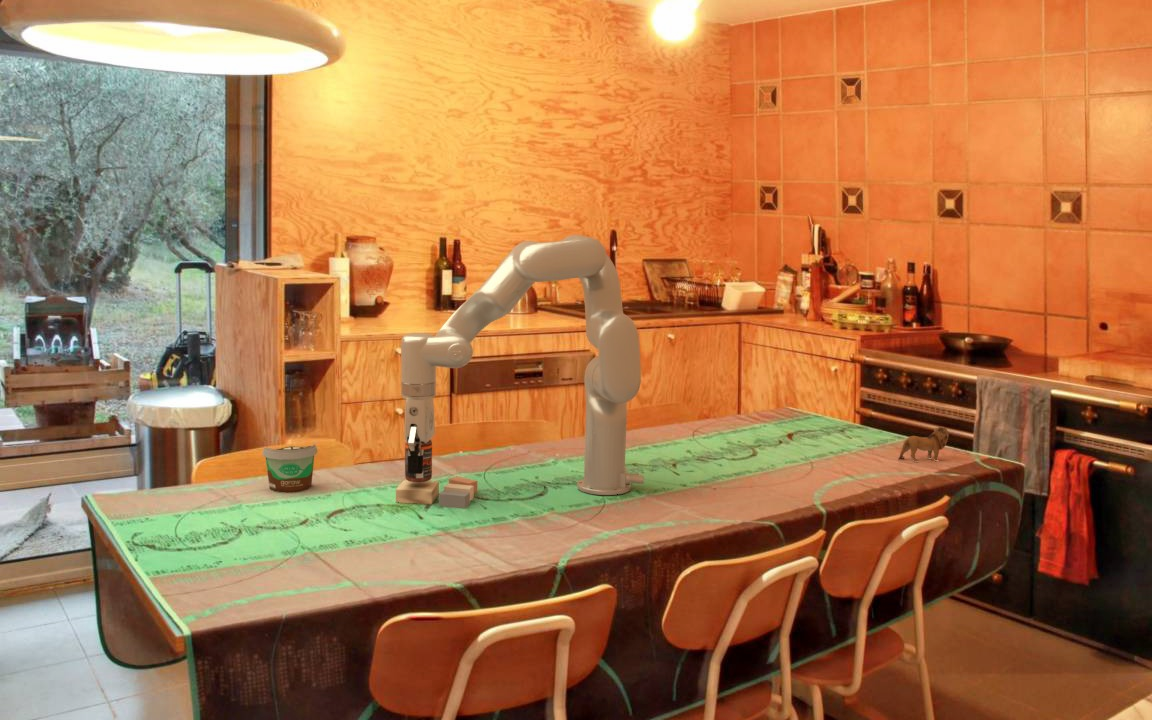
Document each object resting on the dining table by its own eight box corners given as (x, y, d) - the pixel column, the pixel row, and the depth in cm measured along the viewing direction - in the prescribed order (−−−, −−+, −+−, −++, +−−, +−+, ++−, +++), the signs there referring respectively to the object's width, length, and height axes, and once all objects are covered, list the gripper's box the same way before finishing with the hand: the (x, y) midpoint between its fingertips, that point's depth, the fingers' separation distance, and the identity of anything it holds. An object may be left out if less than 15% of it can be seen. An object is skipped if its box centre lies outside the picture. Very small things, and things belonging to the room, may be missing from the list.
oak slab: (438, 494, 240) (438, 481, 239) (431, 504, 232) (431, 491, 232) (404, 492, 240) (404, 479, 240) (395, 502, 233) (395, 489, 232)
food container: (268, 496, 235) (267, 452, 233) (262, 489, 240) (262, 446, 238) (323, 490, 240) (323, 447, 239) (317, 483, 246) (316, 441, 244)
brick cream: (473, 498, 238) (473, 485, 237) (469, 502, 235) (469, 489, 235) (448, 496, 239) (448, 483, 239) (443, 499, 236) (443, 486, 236)
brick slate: (469, 505, 233) (469, 492, 232) (464, 509, 230) (465, 496, 229) (443, 503, 234) (443, 490, 233) (438, 507, 231) (438, 493, 231)
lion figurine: (939, 456, 289) (941, 424, 288) (951, 461, 284) (954, 428, 283) (892, 459, 285) (895, 426, 284) (904, 464, 280) (906, 430, 279)
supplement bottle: (426, 484, 232) (426, 433, 230) (401, 482, 233) (400, 432, 232) (435, 477, 238) (435, 428, 236) (410, 475, 239) (410, 426, 237)
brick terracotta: (477, 493, 242) (477, 480, 242) (468, 496, 240) (469, 483, 239) (457, 488, 245) (457, 476, 245) (448, 491, 243) (448, 479, 243)
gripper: (427, 397, 224) (427, 480, 227) (443, 383, 241) (442, 460, 244) (392, 396, 224) (392, 478, 227) (410, 382, 241) (410, 459, 244)
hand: (418, 468), depth 235 cm, fingers closed on supplement bottle, 6 cm apart
